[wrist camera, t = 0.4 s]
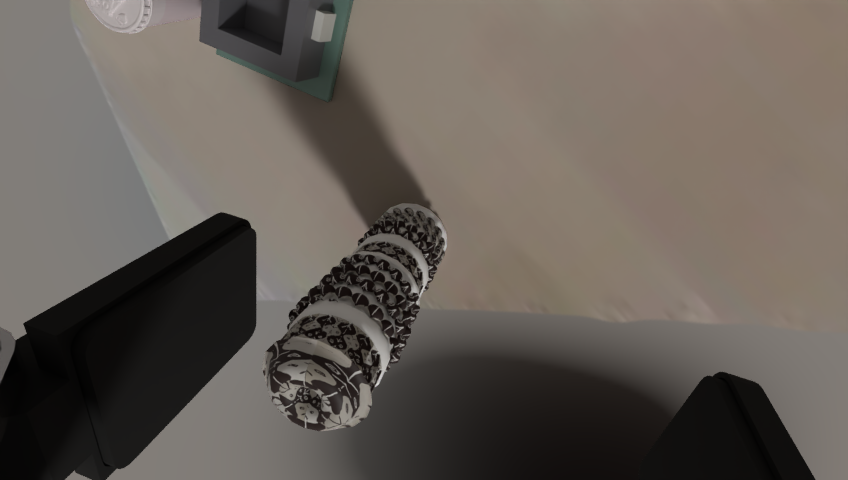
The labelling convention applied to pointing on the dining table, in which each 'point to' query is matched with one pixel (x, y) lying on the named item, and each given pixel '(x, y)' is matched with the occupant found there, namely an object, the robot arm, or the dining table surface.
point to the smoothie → (142, 13)
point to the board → (330, 58)
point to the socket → (271, 33)
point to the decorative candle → (355, 322)
